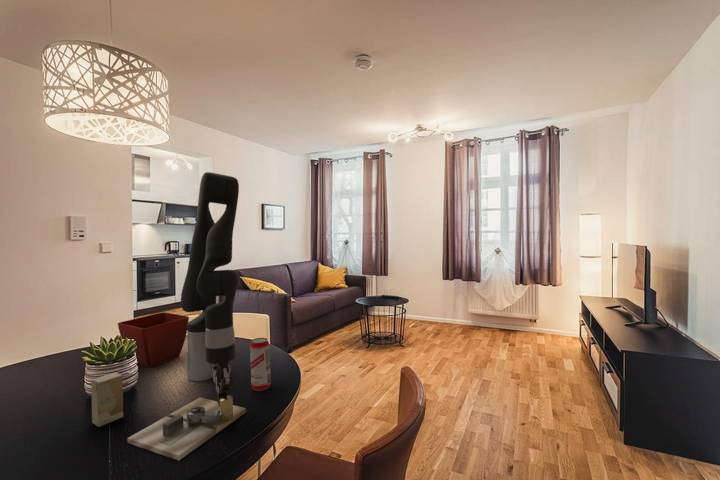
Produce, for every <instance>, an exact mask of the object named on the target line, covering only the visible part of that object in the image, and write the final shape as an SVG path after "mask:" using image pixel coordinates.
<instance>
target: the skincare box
mask: <svg viewBox="0 0 720 480" xmlns="http://www.w3.org/2000/svg"><path fill="white" fill-rule="evenodd" d="M90 380H91V381H90V382H91V421H92V424H93V425H95V426H96V427H99V428H100V427H102V426H104V425H107V424H110V423H112V422H114V421H117V420H119V419H121V418H124V394H123V390H124V388H123V385H124V383H123V374H120V373H119V372H112V373H109V374H105V375H102V376H99V377H96V378H92V379H90Z"/></svg>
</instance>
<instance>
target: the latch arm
mask: <svg viewBox="0 0 720 480" xmlns="http://www.w3.org/2000/svg"><path fill="white" fill-rule="evenodd" d="M233 400H234V399H233V396H232V395H228V394H227V396H223V397H221V398H220V410H219V411H205V408H204V407H195V408H192V409H190V410H188V411H187V424H188V425H198V424H200V423H207V422H229V421H231V420H232V419H233V405H234V404H233V402H234V401H233Z"/></svg>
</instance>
